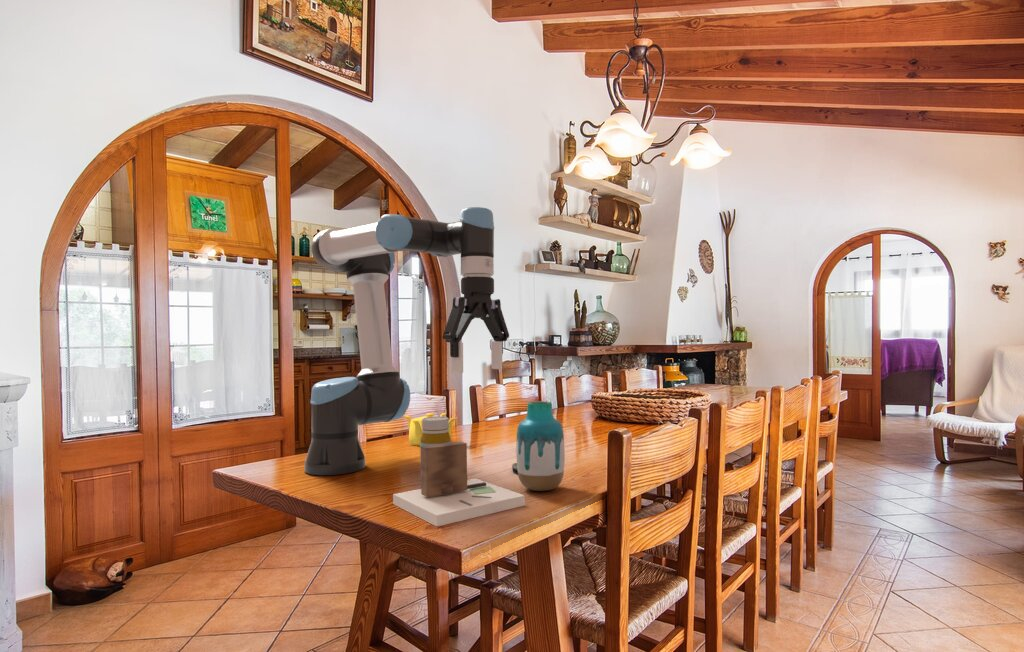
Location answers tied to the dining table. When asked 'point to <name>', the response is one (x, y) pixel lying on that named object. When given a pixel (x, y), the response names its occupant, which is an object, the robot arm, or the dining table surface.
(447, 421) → the bottle
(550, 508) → the dining table surface
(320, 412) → the robot arm
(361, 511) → the dining table surface
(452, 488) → the brown wooden block
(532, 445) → the vase
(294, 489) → the dining table surface
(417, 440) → the teapot
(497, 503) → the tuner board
